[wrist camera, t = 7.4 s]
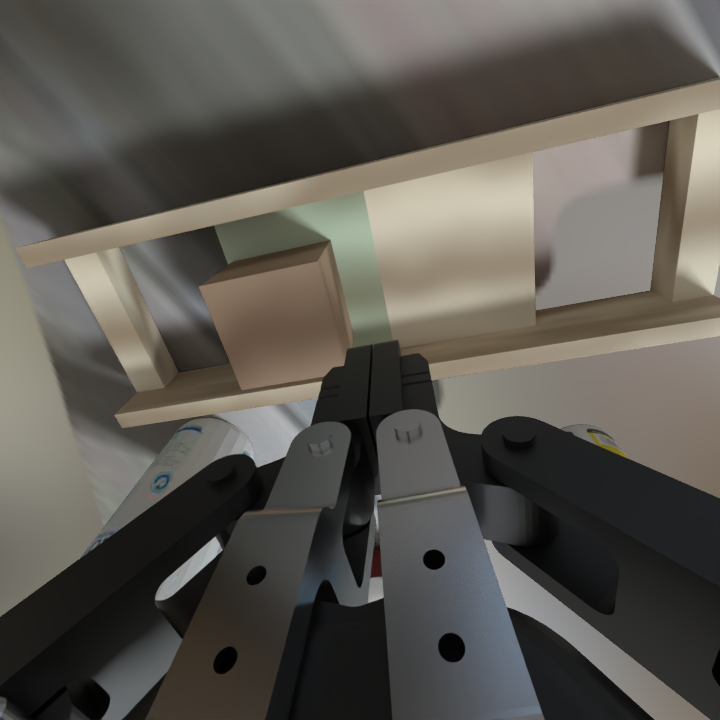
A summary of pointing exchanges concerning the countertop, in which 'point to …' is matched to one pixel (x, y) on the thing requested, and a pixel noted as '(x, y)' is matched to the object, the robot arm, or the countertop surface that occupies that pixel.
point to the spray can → (170, 470)
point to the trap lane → (428, 257)
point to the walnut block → (281, 315)
